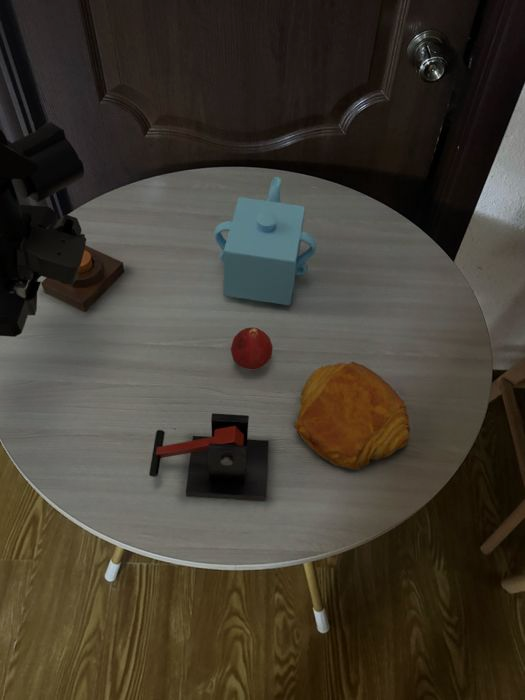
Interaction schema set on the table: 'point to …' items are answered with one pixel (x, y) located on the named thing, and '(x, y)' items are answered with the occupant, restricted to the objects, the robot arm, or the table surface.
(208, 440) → the lever
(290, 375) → the table surface
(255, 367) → the onion
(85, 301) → the button block
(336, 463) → the croissant
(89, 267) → the button
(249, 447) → the bracket
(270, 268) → the teapot
